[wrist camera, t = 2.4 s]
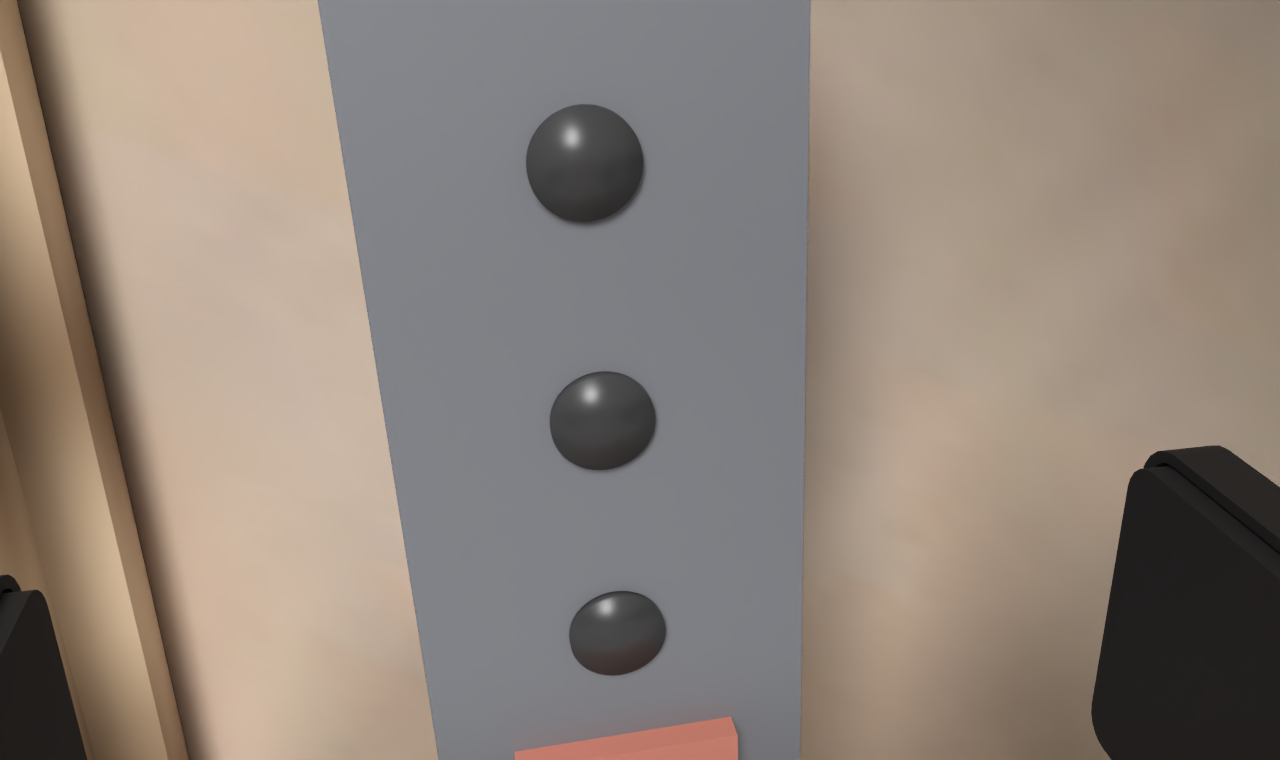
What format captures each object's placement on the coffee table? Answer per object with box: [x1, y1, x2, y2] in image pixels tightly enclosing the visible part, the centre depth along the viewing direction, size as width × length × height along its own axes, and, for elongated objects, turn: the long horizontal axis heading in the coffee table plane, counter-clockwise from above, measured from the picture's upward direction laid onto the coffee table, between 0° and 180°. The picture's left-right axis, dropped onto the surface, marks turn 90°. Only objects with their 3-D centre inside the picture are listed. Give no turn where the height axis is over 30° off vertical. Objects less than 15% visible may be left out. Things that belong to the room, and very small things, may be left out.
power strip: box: [318, 0, 811, 760], centre depth 14 cm, size 10×4×6 cm, turn 3°
